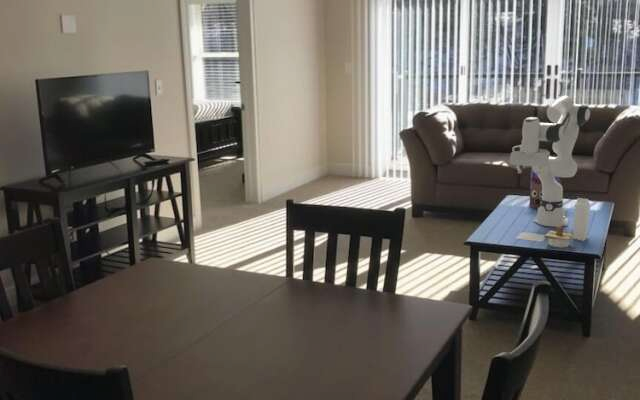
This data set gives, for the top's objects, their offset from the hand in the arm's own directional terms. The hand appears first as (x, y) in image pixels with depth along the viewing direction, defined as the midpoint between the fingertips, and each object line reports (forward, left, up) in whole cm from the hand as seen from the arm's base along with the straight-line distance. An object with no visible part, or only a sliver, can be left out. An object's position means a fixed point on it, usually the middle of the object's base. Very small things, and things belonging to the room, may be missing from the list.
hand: (528, 174), depth 368 cm
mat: (+2, +4, -34) cm, 34 cm away
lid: (+10, +20, -29) cm, 37 cm away
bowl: (+10, +20, -34) cm, 41 cm away
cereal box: (-71, -7, -34) cm, 79 cm away
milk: (-8, +27, -34) cm, 44 cm away
